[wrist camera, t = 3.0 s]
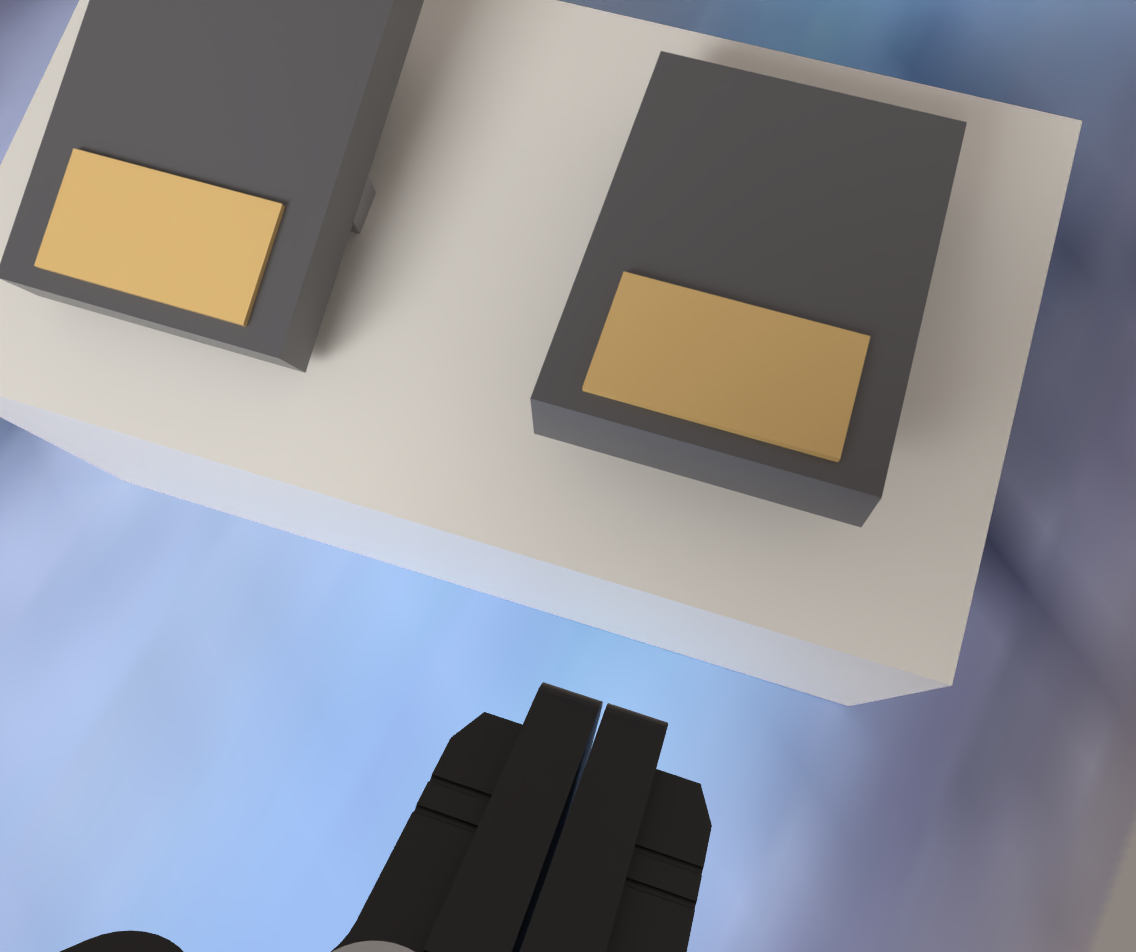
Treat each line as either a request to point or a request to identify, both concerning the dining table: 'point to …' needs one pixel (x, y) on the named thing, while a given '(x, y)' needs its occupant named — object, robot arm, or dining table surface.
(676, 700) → the dining table surface
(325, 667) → the dining table surface
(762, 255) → the rocker outer
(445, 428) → the switch box
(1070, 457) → the dining table surface
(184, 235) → the block
